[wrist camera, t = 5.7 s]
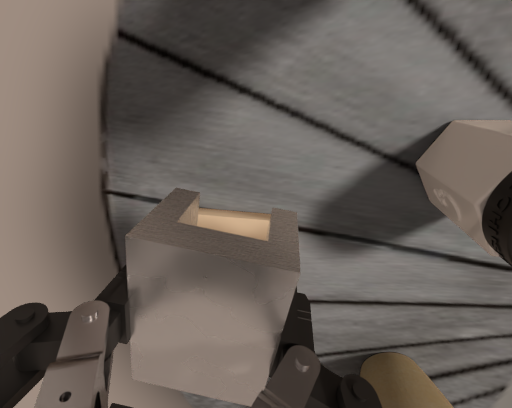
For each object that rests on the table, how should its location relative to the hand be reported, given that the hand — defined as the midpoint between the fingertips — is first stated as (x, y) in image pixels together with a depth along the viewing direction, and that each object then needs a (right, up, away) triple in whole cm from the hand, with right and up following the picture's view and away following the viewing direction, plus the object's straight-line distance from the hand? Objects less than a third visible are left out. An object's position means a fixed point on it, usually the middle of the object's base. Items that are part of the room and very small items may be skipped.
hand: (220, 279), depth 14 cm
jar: (+21, +8, +12) cm, 25 cm away
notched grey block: (0, 0, +1) cm, 1 cm away
